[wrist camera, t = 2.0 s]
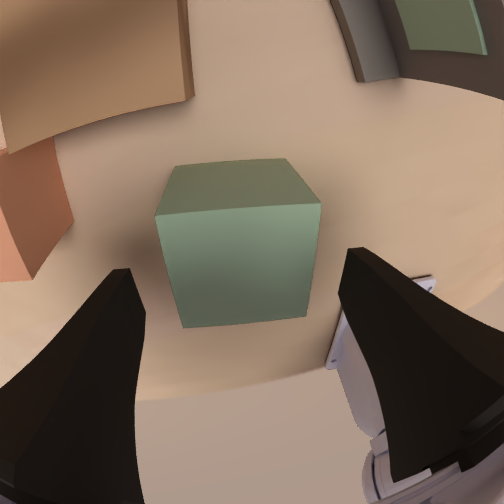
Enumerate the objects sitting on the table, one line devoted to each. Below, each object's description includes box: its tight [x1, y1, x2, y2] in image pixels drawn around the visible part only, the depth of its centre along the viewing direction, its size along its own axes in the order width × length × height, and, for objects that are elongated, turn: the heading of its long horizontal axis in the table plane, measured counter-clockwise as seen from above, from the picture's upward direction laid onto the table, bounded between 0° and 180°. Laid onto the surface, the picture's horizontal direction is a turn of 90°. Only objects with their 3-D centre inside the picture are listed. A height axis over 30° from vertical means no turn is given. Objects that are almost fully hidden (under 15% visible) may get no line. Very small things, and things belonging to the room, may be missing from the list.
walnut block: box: [0, 0, 195, 155], centre depth 6 cm, size 7×7×4 cm
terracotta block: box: [0, 136, 74, 282], centre depth 9 cm, size 5×5×5 cm
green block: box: [155, 158, 322, 328], centre depth 12 cm, size 5×5×5 cm
